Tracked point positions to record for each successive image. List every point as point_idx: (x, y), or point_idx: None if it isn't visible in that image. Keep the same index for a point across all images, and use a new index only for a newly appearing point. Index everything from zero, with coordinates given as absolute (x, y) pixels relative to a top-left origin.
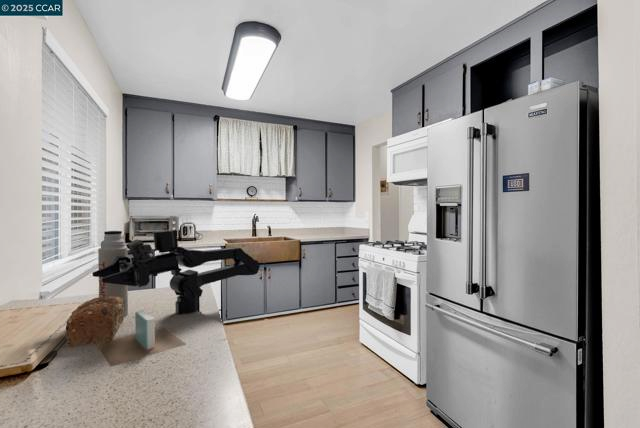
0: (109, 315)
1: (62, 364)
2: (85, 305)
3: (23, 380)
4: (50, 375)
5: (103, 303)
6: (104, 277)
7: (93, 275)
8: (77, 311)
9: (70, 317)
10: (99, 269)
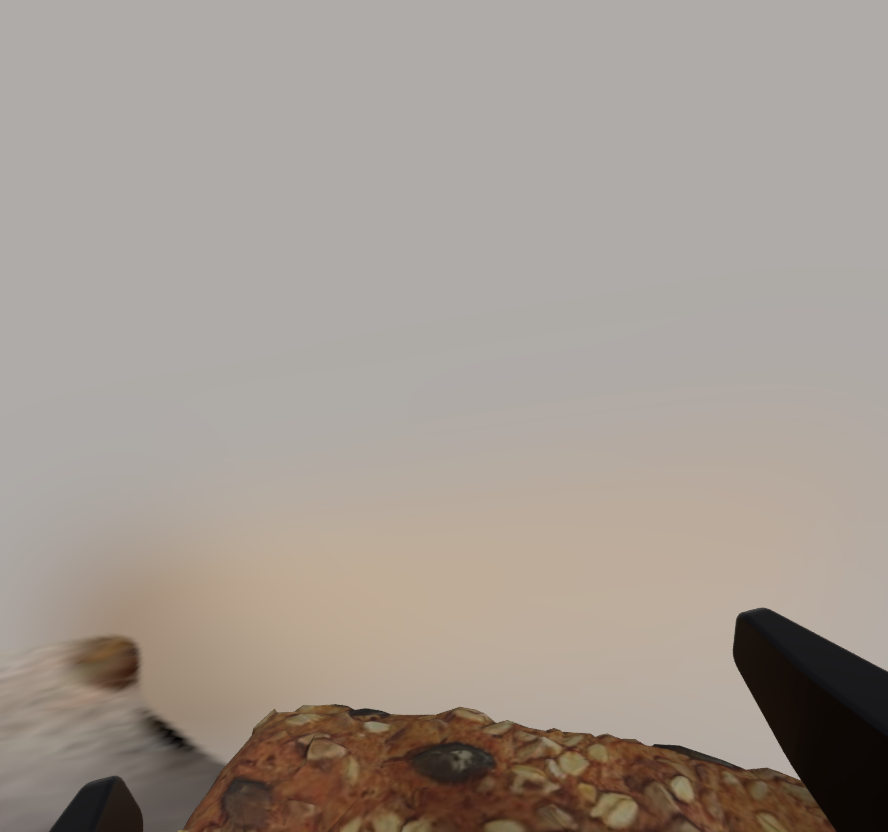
0: None
1: None
2: (460, 785)
3: (89, 680)
4: (21, 773)
5: None
6: (86, 811)
7: (736, 653)
8: (326, 735)
9: (338, 713)
10: None
